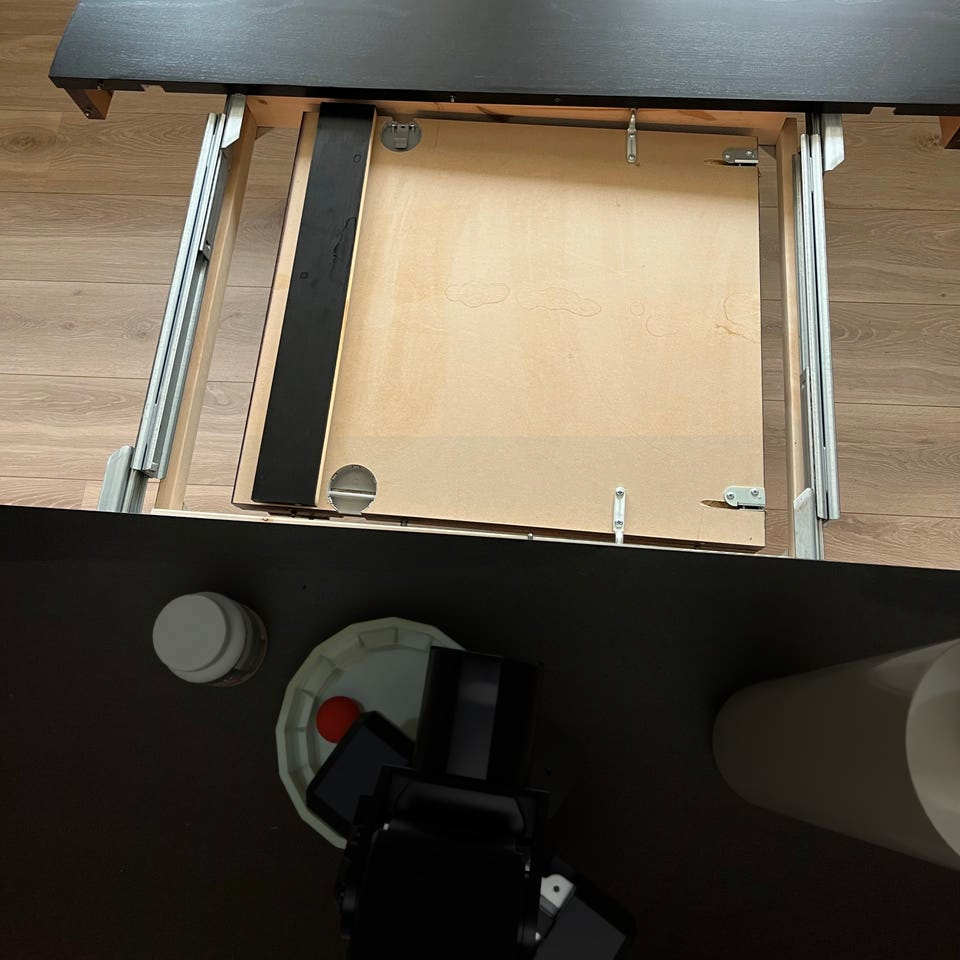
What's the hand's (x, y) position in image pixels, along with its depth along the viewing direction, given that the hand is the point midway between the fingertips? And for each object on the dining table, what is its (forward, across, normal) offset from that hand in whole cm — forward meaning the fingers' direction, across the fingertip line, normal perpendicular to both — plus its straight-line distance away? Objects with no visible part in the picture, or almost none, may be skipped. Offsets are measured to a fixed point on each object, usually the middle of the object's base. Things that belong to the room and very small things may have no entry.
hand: (475, 844), depth 66 cm
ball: (+2, +12, 0) cm, 12 cm away
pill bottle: (+5, +22, 0) cm, 22 cm away
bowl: (+4, +8, -2) cm, 10 cm away
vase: (+4, -13, -16) cm, 21 cm away
